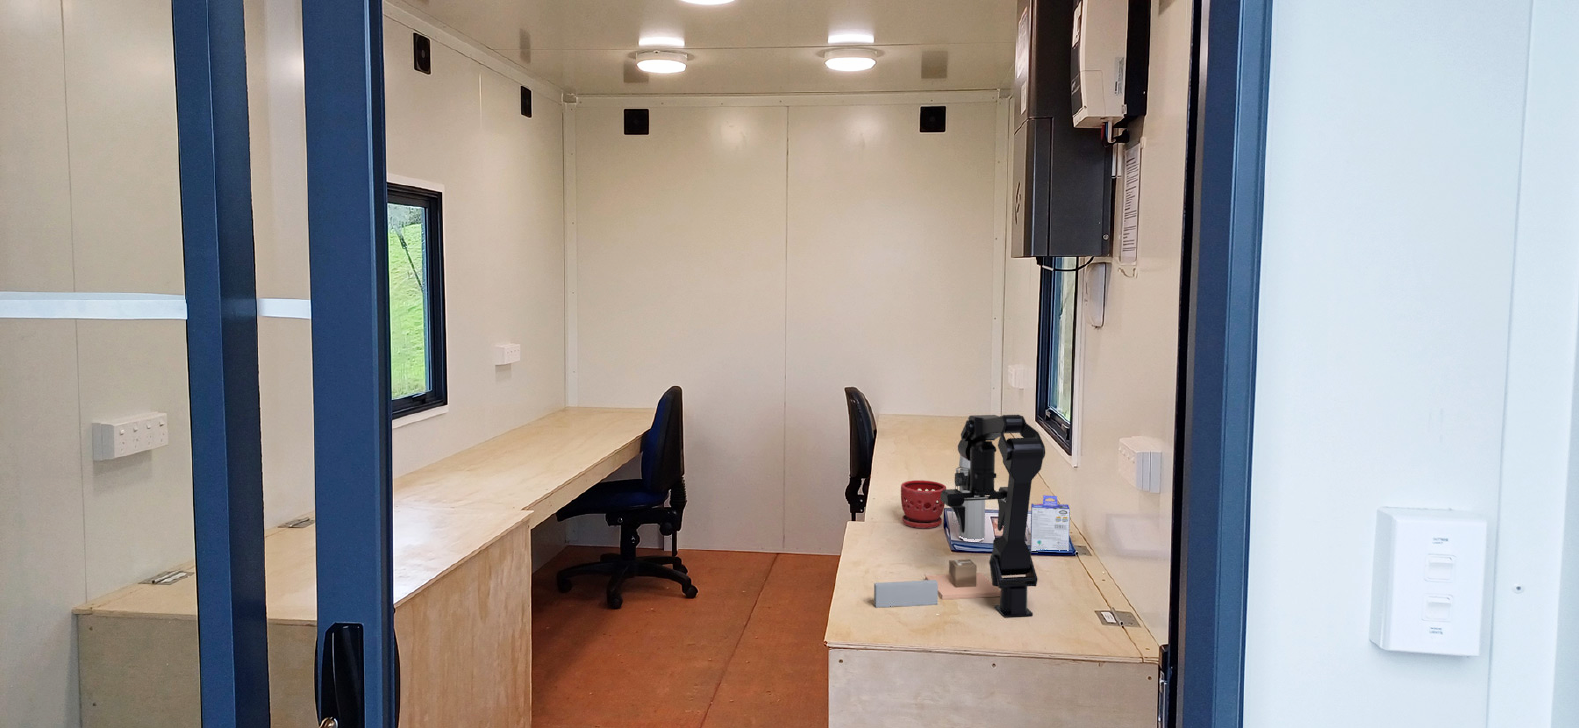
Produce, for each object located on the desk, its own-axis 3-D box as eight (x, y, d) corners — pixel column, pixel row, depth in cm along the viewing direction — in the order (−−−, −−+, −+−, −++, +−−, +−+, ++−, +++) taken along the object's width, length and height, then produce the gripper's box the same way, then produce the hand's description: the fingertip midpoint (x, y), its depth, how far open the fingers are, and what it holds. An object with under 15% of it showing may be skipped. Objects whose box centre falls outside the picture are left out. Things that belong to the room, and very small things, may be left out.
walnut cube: (976, 586, 223) (976, 564, 223) (955, 587, 223) (955, 565, 222) (969, 579, 228) (969, 558, 228) (949, 580, 227) (949, 559, 227)
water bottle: (981, 535, 269) (982, 447, 266) (988, 543, 261) (989, 453, 258) (948, 536, 269) (949, 448, 266) (954, 544, 261) (955, 453, 258)
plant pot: (896, 529, 276) (897, 488, 275) (905, 517, 289) (905, 478, 287) (942, 532, 272) (942, 491, 271) (948, 520, 285) (949, 481, 284)
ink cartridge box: (1068, 548, 256) (1069, 495, 255) (1069, 554, 251) (1071, 500, 249) (1029, 546, 258) (1030, 493, 257) (1030, 552, 253) (1031, 498, 251)
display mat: (1001, 596, 219) (1001, 591, 219) (942, 599, 218) (942, 595, 217) (981, 576, 233) (981, 572, 233) (925, 579, 231) (925, 575, 231)
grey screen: (937, 604, 214) (937, 582, 214) (876, 607, 212) (876, 585, 212) (934, 601, 216) (935, 579, 216) (874, 604, 214) (874, 582, 214)
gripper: (1006, 458, 237) (1005, 520, 239) (933, 461, 234) (933, 524, 236) (1024, 468, 226) (1023, 533, 228) (948, 471, 223) (947, 537, 225)
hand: (981, 531), depth 230 cm, fingers open, 9 cm apart
